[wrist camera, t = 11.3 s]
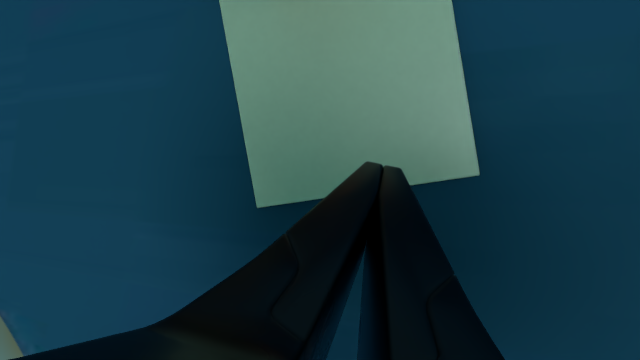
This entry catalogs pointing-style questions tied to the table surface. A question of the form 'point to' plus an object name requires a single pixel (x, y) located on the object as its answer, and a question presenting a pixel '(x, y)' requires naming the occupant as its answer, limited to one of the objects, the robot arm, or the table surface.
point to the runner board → (347, 92)
